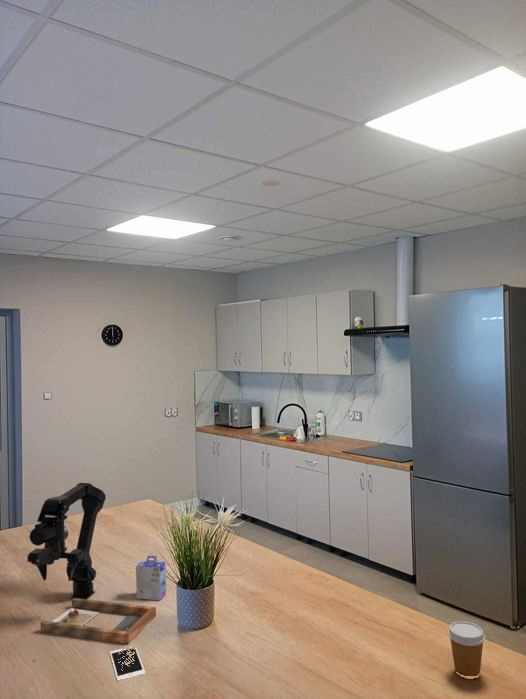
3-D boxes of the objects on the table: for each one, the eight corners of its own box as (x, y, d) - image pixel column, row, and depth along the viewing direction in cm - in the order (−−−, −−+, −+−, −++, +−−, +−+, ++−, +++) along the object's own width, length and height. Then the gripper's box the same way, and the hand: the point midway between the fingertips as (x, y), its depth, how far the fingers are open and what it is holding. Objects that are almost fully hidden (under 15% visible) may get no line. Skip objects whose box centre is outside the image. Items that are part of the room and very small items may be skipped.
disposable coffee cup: (443, 664, 152) (442, 621, 152) (475, 661, 153) (474, 619, 153) (458, 685, 143) (457, 640, 143) (493, 682, 144) (491, 637, 143)
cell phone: (117, 683, 149) (117, 680, 149) (109, 653, 164) (109, 651, 164) (145, 675, 152) (145, 673, 152) (135, 647, 167) (135, 645, 167)
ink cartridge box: (167, 593, 202) (165, 555, 202) (161, 600, 196) (160, 561, 196) (142, 592, 204) (141, 554, 204) (136, 599, 198) (134, 559, 198)
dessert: (99, 615, 188) (98, 601, 188) (76, 633, 177) (76, 618, 177) (70, 611, 192) (70, 597, 192) (47, 628, 181) (46, 613, 181)
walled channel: (40, 632, 177) (40, 622, 177) (74, 606, 194) (74, 597, 194) (129, 644, 168) (128, 634, 168) (156, 615, 185) (155, 607, 185)
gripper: (17, 543, 181) (18, 589, 181) (70, 544, 178) (71, 591, 178) (35, 532, 192) (36, 575, 192) (85, 532, 189) (86, 577, 189)
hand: (57, 580), depth 188 cm, fingers open, 9 cm apart
